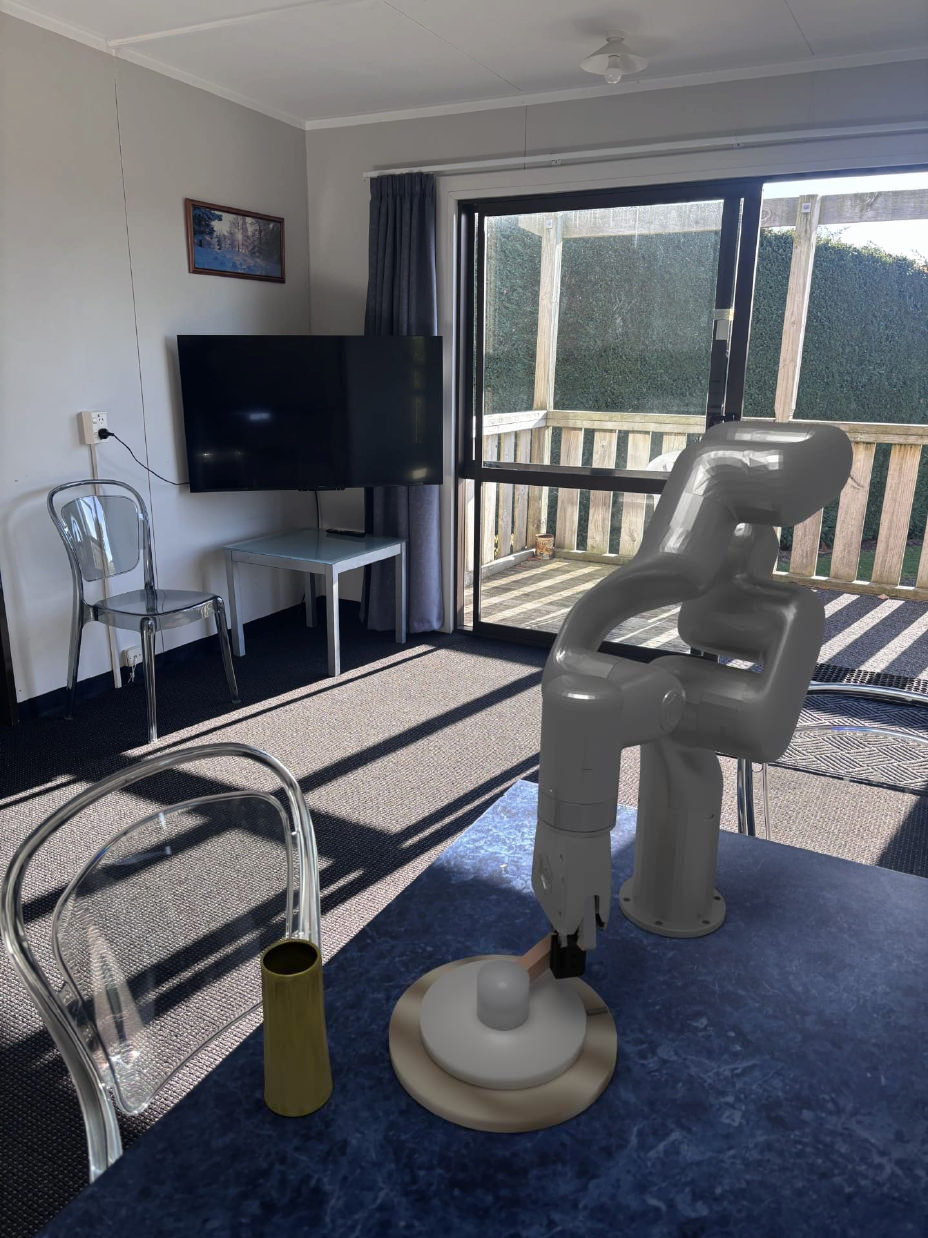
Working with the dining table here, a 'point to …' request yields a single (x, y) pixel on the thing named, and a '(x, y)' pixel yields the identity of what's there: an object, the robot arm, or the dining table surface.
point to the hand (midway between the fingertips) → (566, 972)
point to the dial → (504, 1021)
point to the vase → (294, 1028)
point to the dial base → (501, 1105)
